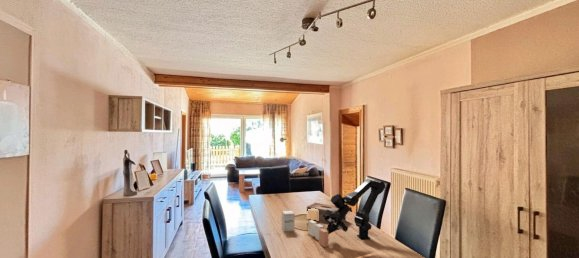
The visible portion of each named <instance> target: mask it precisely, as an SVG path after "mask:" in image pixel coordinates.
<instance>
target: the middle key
mask: <svg viewBox="0 0 579 258" xmlns="http://www.w3.org/2000/svg"><path fill="white" fill-rule="evenodd" d="M319 229H325V226H324V225H322V224H321V223H317V224H315V236H314V239H315V240H318V241H319Z"/></svg>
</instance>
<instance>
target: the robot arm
mask: <svg viewBox="0 0 579 258" xmlns="http://www.w3.org/2000/svg"><path fill="white" fill-rule="evenodd" d="M386 186H387V185H386V183H385V181H383V180H379V179H374V180H373V179H367V178H366V179H365V180H364V181H363V182H362V183H361V185H359V186H358V187H357V188H356V189H355V190H354V191H352V192H349V193H348V194H346V195H344V196H343V197H342V195H341V194H340V193H337V194H335V195H333V196H332V197H331V198H330V202H331V204H333V206H335V207H336V208H339V209H338V210H337V211H336V210H335V211H330V210H328V209H327V212H326V214H324V215H323V216H322V218H323V219H324V220H325V221H326V222H327V223H328V224H327V223H326V224H327V228H326V230H327V231H328V235H329V234H332V233H333V232H336V231H340V228H341V229H342V231H343V232H345V233H346V232H347V231H348V230H349V228H348V227H349V226H347V224H346V223H345V222H342V220H343V219H344V220H345V219H346V220H347V218H345V216H346V217H347V215H348V213H349V212H350V213H353V210H352V207H355V206H357V204H358V203H359V201H360V198H362V196H363V195H364V194H365V193H366V192H367V191H368V190H369V189H370V192H369V195H368V197H367V199H366V201H365V203H364V205H363V207H362V209H361V211H358V210H357V212H356V213H355V215H354V219H353V220H354V223H355V226H356V227H357V228H358V234H356V236H357V238H359V239H360V240H370V239H371V236H369V231H370V230H371V229H372V224H371V223H370V213H371V211H372V209H373V207H374V205H375V203H376V201H377V199H378V196H379V195H380V194H382V193H383V192H384V191H385V189H386ZM329 216H330V217H331V218H332V219H331V218H330V217H329Z"/></svg>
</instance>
